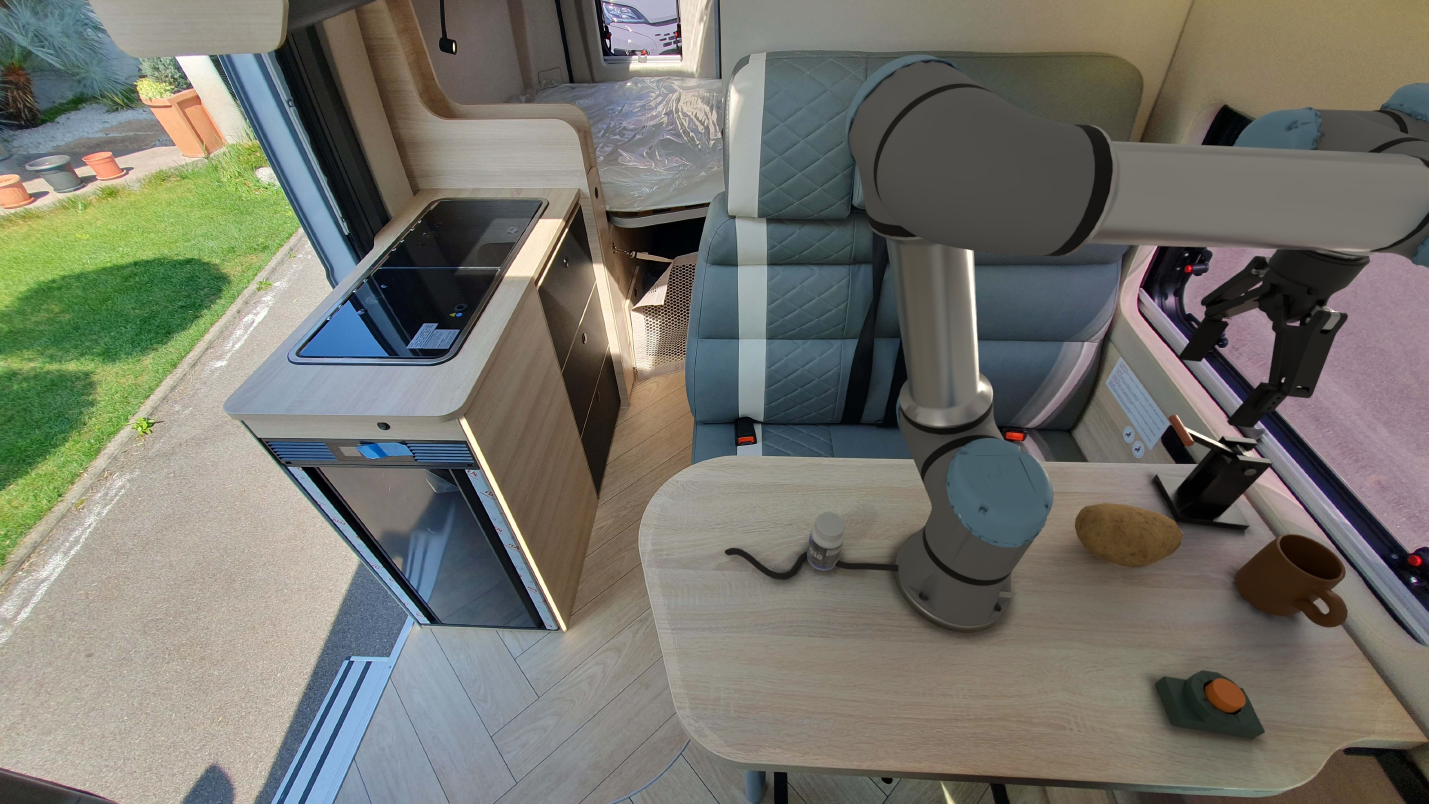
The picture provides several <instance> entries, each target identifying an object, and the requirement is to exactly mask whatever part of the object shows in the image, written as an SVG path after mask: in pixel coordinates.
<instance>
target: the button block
mask: <svg viewBox="0 0 1429 804" xmlns="http://www.w3.org/2000/svg"><path fill="white" fill-rule="evenodd" d="M1216 679H1226V680H1228V681H1230V682H1232V683H1234V684H1235V685H1236V686H1237V687H1239V689H1240V690H1241V691H1242V692H1243V694H1244V696H1245V699H1246V703H1245V705H1244V706H1243V707H1241V708H1240V709H1238V710H1236V711H1235V712H1233V713H1226V712H1223V711H1221V710H1219V709H1217V708H1216V707H1214V706H1213V705H1212V704H1211V703H1210V702H1209V700H1208V699H1207V697H1206V695H1205V687H1206V686H1207V685H1208V684H1210V683H1211V682H1213V681H1214V680H1216ZM1154 684H1155V687H1156V690H1157V692H1158V695H1159V697H1160V699H1161V702H1162V705H1163V707H1164V710H1165V712H1166V715H1167V717H1168V720H1169V722H1170V724H1171V726H1172V727H1176V728H1183V729H1189V730H1196V731H1202V732H1208V733H1213V734H1221V735H1227V736H1233V737H1240V738H1245V739H1252V740H1254V739H1256V738H1257V737H1260V736H1262V735H1263V734H1265V733H1266V731H1265V729H1264V727H1263V725H1262V722H1261V720H1260V719H1259V717H1258V714H1257V712H1256V711H1255V708H1254V706H1253V703H1252V701H1251V700H1250V698H1249V696H1248V695H1247V693H1246V691H1245V689H1244V688H1243V687H1240V686H1239V685H1238V684H1237V683H1236V682H1235V681H1234V680H1232V679H1231V678H1228V676H1225V675H1223V674H1221V673H1219V672H1217V671H1211V670H1205V669H1202V670H1199V671H1198V672H1196V673H1193V674H1192V675H1190V676H1189V677H1188V678H1187V679H1186V678H1179V677H1173V676H1166V675H1164V676H1162V677H1161V678H1159V680H1157V681H1156V682H1154Z"/></svg>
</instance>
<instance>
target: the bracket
mask: <svg viewBox="0 0 1429 804" xmlns="http://www.w3.org/2000/svg"><path fill="white" fill-rule="evenodd" d="M1217 442H1218V443H1220V444H1222V445H1225V446H1227V447H1229V448H1231V447H1233V446H1234V445H1236V444H1237V445H1239V446H1241V447H1243V448H1245V449H1248V450H1250V451H1251V452H1252V451H1253V450H1254V448H1256V446H1257V445H1258V442H1257V440H1255V438H1248V437H1239V436H1229V435H1222V436H1221V437H1220V438H1219V439H1218V441H1217ZM1272 465H1273V462H1272V460H1271V459H1270V458H1264V457H1257V456H1255V457H1248V456H1240V455H1236V456H1235V457H1234V458H1233V459H1232V461H1231V462H1230V463H1229V464H1228V463H1227V461H1226V460H1225V458H1224V457H1223V456H1222V454H1220V453H1218V452H1216V451H1213V450H1211V449H1209V451H1208V452H1207V454H1206V455H1204V457H1203V458H1202V459H1201V460H1200V461H1199V463H1198V464H1197V465H1196V466H1195V467H1194V468H1193V470H1192V471H1191V472H1190V473H1189V474H1188V475H1187V476H1186V477H1185V476H1177V475H1169V474H1160V473H1156V474H1155V475H1154V477H1153V481H1154V484H1155V486H1156V487H1157V488H1158V490H1159V492H1160V495H1161V496H1162V498H1163V500H1164V503H1166V505H1167V508H1168V509H1169V511H1170V513H1171V515H1172V517H1173V520H1174V521H1175V523H1181V524H1183V523H1184V524H1191V525H1199V526H1208V527H1214V528H1223V529H1229V530H1230V529H1231V530H1239V531H1246V530H1247V529H1248V528H1250V524H1249V522H1248V521H1247V520H1246V518H1245V516H1244V515H1243V513H1242V512H1241V510H1240V508H1239V507H1238V506H1237V504H1236V501H1238V499H1239V498H1240V497H1241V496H1242V495H1244V493H1245V492H1247V490H1248V489H1249V488H1250V487H1251V486H1252V485H1253V484H1254V483H1255V482H1256V481H1257V480H1258V479H1259V478H1260V477H1261V476H1262V475H1264V473H1265V472H1266V471H1267V470H1268V469H1269V468H1270V467H1272Z"/></svg>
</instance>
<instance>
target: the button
mask: <svg viewBox="0 0 1429 804" xmlns="http://www.w3.org/2000/svg"><path fill="white" fill-rule="evenodd" d="M1239 687H1240V686H1239ZM1239 687H1237V686H1236V685H1235V684H1234V683H1232V682H1230V681H1228V680H1226V679H1216V680H1214V681H1213V682H1211V683H1210V684H1208V685H1207V686H1206V687H1205V695H1206V697H1207V699H1208V700H1209V702H1210V703H1211V704H1212V705H1213V706H1214V707H1216V708H1217V709H1219V710H1221V711H1223V712H1226V713H1233V712H1235V711H1236V710H1238V709H1240V708H1241V707H1243V706H1244V705H1245V703H1246V699H1245V696H1244V694H1243V692H1242V691H1241V690H1240V689H1239Z"/></svg>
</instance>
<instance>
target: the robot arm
mask: <svg viewBox="0 0 1429 804" xmlns="http://www.w3.org/2000/svg"><path fill="white" fill-rule="evenodd" d="M846 115H847V116H846V121H845V128H844V129H845V131H844V132H845V140H846V141H845V142H846V148H847V152H848V155H849V156H850V158H851V160H852V161H853V162H854V164H855V165H857V169H858V175H859V178H860V185H861V191H862V195H863V201H864V206H865V212H866V219H867V223H868V226H869V228H870V229H871V231H872V232H873V233H875V234H877V235H878V236H880V237H882V238H885V241H886V247H887V253H888V260H889V267H890V273H891V278H892V279H891V280H892V287H893V292H894V297H895V306H896V311H897V312H896V313H897V317H898V319H897V320H898V324H899V330H900V337H901V343H902V349H903V351H902V352H903V356H904V364H905V369H906V376H907V379H906V380H905V381H904V383H903V384H902V387H901V388H900V391H899V395H898V398H897V402H896V405H895V411H896V412H895V413H896V420H897V426H898V428H899V430H900V433H901V435H902V437H903V438H904V440H905V443H906V445H907V447H908V450H909V453H910V454H911V457H912V459H913V462H914V464H915V467H916V469H917V471H918V473H919V476H920V478H921V482H922V484H923V487H924V489H925V492H926V494H927V496H928V499H929V501H930V505H931V510H930V513H929V514H928V517H927V521H926V522H925V525H924V526H922V527H921V528H920V529H919V530H918V531H916V532H914V533H913V534H911V535H910V536H909V537H907V538H906V540H905V541H904V542H903V543H902V545H901V546H900V548H899V550H898V553H897V556H896V558H895V562H894V564H892V563H891V564H890V563H878V562H877V563H876V562H846V561H841V560H838V561H837V563H836V564H835V567H836V568H839V569H843V570H851V571H852V570H853V571H858V570H860V571H862V570H866V571H867V570H868V571H871V570H872V571H884V572H894V576H895V577H894V578H895V582H896V585H897V587H898V590H899V592H900V593H901V595H902V597H903V598H904V599H905V601H906V602H907V603H908V604H909V606H910V607H911V608H912V609H913V610H914V611H915V612H917V614H918V615H920V616H922V617H923V618H924V619H926V620H927V621H929V622H931V623H932V624H934V625H936V626H938V627H941V628H944V629H946V630H949V631H953V632H954V631H955V632H962V633H974V632H979V631H982V630H985V629H988V628H990V627H992V626H993V625H994V624H995V623H997V621H999V620H1000V618H1001V617H1002V616H1003V614H1004V613H1005V611H1006V610H1007V607H1008V605H1009V603H1010V599H1014V597H1015V596H1016V595H1017V592H1015V591H1012V572H1013V571H1014V569H1015V567H1016V566H1017V565H1018V563H1019V562H1020V560H1021V559H1022V558H1023V556H1024V555H1025V554H1026V552H1027V551H1028V549H1029V548H1030V546H1031V545H1032V543H1033V542H1034V541H1035V539H1036V538H1037V537H1038V536H1039V535H1040V533H1041V532H1042V530H1043V529H1044V527H1045V525H1046V523H1047V520H1048V516H1049V515H1050V512H1051V511H1052V508H1053V504H1054V489H1053V483H1052V481H1051V479H1050V476H1049V473H1048V472H1047V470H1046V469H1045V467H1044V466H1043V465H1042V463H1041V462H1040V461H1039V459H1037V458H1036V457H1035V456H1034V455H1033V454H1032V453H1030V452H1029V451H1027V452H1022V451H1021V446H1019V445H1018V444H1015V443H1013V442H1010V441H1008V440H1005V439H1004V436H1003V435H1002V433H1001V432H1000V429H999V428H998V426H997V424H996V421H995V416H994V391H993V387H992V386H993V385H992V384H991V382H990V380H989V379H988V377H986V375H985V374H983V373H982V372H980V364H979V340H978V339H979V337H978V317H977V316H978V315H977V313H978V312H977V295H976V294H977V293H976V292H977V291H976V271H975V252H979V253H989V254H998V255H1013V256H1026V257H1027V256H1028V257H1030V256H1031V257H1065V256H1068V255H1071V254H1073V253H1075V252H1077V251H1079V249H1081V248H1083V246H1085V245H1114V246H1115V245H1118V246H1149V247H1153V246H1154V247H1184V248H1186V247H1187V248H1188V247H1190V248H1224V249H1225V248H1226V249H1255V250H1257V249H1258V250H1259V249H1261V250H1262V249H1263V250H1275V251H1274V253H1272V255H1271V256H1264V255H1254V256H1253V257H1252V258H1251V260H1249V262H1248V263H1247V264H1246V266H1245V267H1244V268H1243V269H1242V270H1240V271H1239V272H1237V273H1235V275H1233V276H1232V277H1230V278H1229V279H1228V280H1227V281H1225V282H1223V283H1222V284H1220V285H1219V286H1217V287H1216V288H1215V289H1213V290H1211V292H1209V293H1208V294H1206V295H1205V296H1203V297H1202V299H1201V300H1200V305H1201V306H1202V307H1205V310H1204V313H1203V315H1204V317H1203V319H1202V320H1201V321H1200V323H1199V324H1198V325H1197V327H1196V328H1195V330H1194V332H1193V336H1192V337H1191V338H1190V340H1189V341H1188V342H1187V344H1186V345H1185V347H1184V348H1183V350H1182V351H1181V352H1180V354H1179V355H1178V359H1180V361H1187V362H1189V361H1190V362H1198V363H1201V362H1202V361H1203V360H1204V359H1205V357H1207V355H1208V353H1209V352H1210V350H1211V349H1212V348H1213V346H1214V345H1215V344H1216V342H1218V340H1219V339H1220V337H1221V336H1222V334H1223V333H1224V332H1225V331H1226V329H1227V328H1228V327H1229V325H1230V323H1229V322H1228V321H1227V320H1233V317H1235V316H1239V315H1241V314H1244V313H1247V312H1250V311H1253V310H1255V309H1258V310H1259V311H1260V312H1263V313H1265V315H1266V317H1267V319H1268V320H1270V322H1272V324H1271V330H1272V332H1274V342H1273V348H1272V355H1271V362H1270V368H1269V374H1268V381H1267V382H1263V381H1260V383H1259V384H1258V385H1256V387H1255V388H1254V389H1253V390H1252V391H1251V392H1250V393H1249V395H1248V396H1247V397H1246V398H1245V400H1244V401H1242V403H1241V404H1240V405H1239V407H1237V409H1236V410H1235V411H1234V412H1233V413H1232V414H1231V416H1229V418H1228V419H1227V420H1226V422H1227V424H1228V425H1229V426H1233V427H1241V428H1250V429H1253V428H1254V427H1255V426H1256V425H1257V424H1259V422H1260V421H1261V419H1263V417H1265V415H1266V414H1267V413H1268V414H1270V413H1272V412H1274V411H1275V410H1276V409H1277V408H1278V407H1279V406H1280V405H1281V404H1282V403H1283V402H1284V401H1285V400H1286V398H1287V397H1290V398H1298V399H1299V398H1301V399H1310V398H1311V397H1313V394H1314V392H1315V389H1316V387H1317V385H1318V382H1319V379H1320V377H1321V374H1322V372H1323V369H1324V366H1325V363H1326V361H1327V358H1328V356H1329V353H1330V351H1331V349H1332V346H1333V343H1334V341H1335V338H1336V335H1337V334H1338V332H1339V331H1340V330H1341V328H1342V327H1343V326H1344V324H1345V323H1346V322H1347V320H1348V318H1349V315H1348V313H1347V312H1345V311H1335V310H1333V309H1332V308H1330V307H1328V302H1329V300H1330V299H1331V297H1332V296H1333V295H1334V294H1336V293H1338V292H1340V291H1343V290H1345V289H1347V288H1349V287H1350V286H1351V284H1353V282H1354V281H1355V280H1356V279H1357V278H1358V277H1359V275H1360V274H1361V273H1362V272H1363V271H1364V270H1365V269H1366V268H1367V267H1368V265H1369V264H1370V263H1371V257H1370V256H1373V255H1374V256H1375V255H1377V254H1380V253H1381V254H1394V255H1398V256H1401V257H1404V258H1406V259H1407V260H1409V261H1410V262H1411V263H1412V265H1415V266H1416V267H1422V268H1424V269H1427V270H1429V82H1414V83H1413V82H1412V83H1410V84H1405V85H1402V86H1401V87H1399V88H1397V89H1396V90H1395V91H1394V92H1393V93H1392V95H1391V96H1390V97H1389V98H1388V99H1387V101H1385V102H1384V103H1382V104H1381V106H1380V108H1379V109H1375V110H1356V109H1355V110H1353V109H1325V108H1324V109H1323V108H1322V109H1321V108H1320V109H1319V108H1314V107H1312V106H1306V107H1300V108H1291V109H1277V110H1273V111H1269V112H1267V113H1265V114H1263V115H1261V116H1259V117H1257V118H1256V119H1254V120H1253V121H1252V122H1250V123H1249V124H1248V125H1247V126H1246V127H1245V128H1244V129H1243V130H1242V131H1241V133H1240V134H1238V138H1236V140H1235V142H1234V144H1233V145H1232V146H1228V145H1206V144H1186V143H1185V144H1184V143H1183V144H1182V143H1164V142H1163V143H1162V142H1137V141H1119V140H1117V141H1116V140H1112V139H1111V137H1110V136H1109V135H1108V133H1107V132H1106V131H1105V130H1104V129H1102V128H1101V127H1099V126H1097V125H1093V124H1092V125H1091V124H1078V123H1077V124H1075V123H1064V122H1060V121H1055V120H1050V119H1047V118H1044V117H1042V116H1039V115H1035V114H1032V113H1030V112H1029V111H1027V110H1024V109H1023V108H1020V107H1018V106H1015V105H1013V104H1011V103H1010V102H1008V101H1007V100H1005V99H1003V98H1002V97H1000V96H999V95H997V94H995V93H994V92H992V91H991V90H989V89H988V88H986V87H985V86H984V85H982V84H980V83H978V82H977V81H975V80H974V79H972V78H971V77H970V76H967V75H966V73H965V71H964V70H963V69H962V68H961V67H960V66H959V65H958V64H956V63H955V62H953V61H951V60H948V59H946V58H939V57H936V56H934V55H930V54H911V55H905V56H902V57H898V58H896V59H894V60H892V61H889V62H888V63H886V64H884V65H882V66H881V67H880V68H879V69H876V70H875V72H874V73H872V74H871V75H869V77H868V78H867V79H866V80H865V81H864V82H863V84H862V85H861V87H860V88H859V89H858V91H857V93H856V94H855V96H854V97H853V99H852V100H851V103H850V105H849V108H848V111H847V114H846ZM1260 283H1261V284H1260ZM1259 284H1260V285H1259ZM1257 285H1259V286H1257ZM1256 286H1257V287H1256ZM1298 322H1299V324H1298V325H1294V324H1296V323H1298ZM1283 379H1284V380H1283ZM724 554H725V555H727V556H732V555H734V556H735V555H736V556H738V557H741V558H742V559H745V560H746V561H747V562H748V563H749V564H751V565H752V566H753V567H754V568H755V569H756V570H758V571H759V572H760V573H762V574H764V575H765V576H767V577H769V578H771V579H775V580H789V579H790V578H793V577H794V576H795V575H796V574H797V573H798V572H799V571H800V569H801V567H802V565H803V564H804V563H805V561H806V560H807V550H805V551H803V552H802V553H801V554H800V555H799V556H798V558H797V559H796V561H795V562H794V564H793V566H792V567H791V568H790V569H789V570H788V571H785V572H777V571H774V570H772V569H769V568H768V567H766V566H765V565H763V564H762V563H761V562H760V561H759V560H758V559H757V558H755V557H754V556H753V555H752V554H750V553H749V552H747V551H746V550H744V549H742V548H738V547H729V548H727V549H725V550H724Z"/></svg>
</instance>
